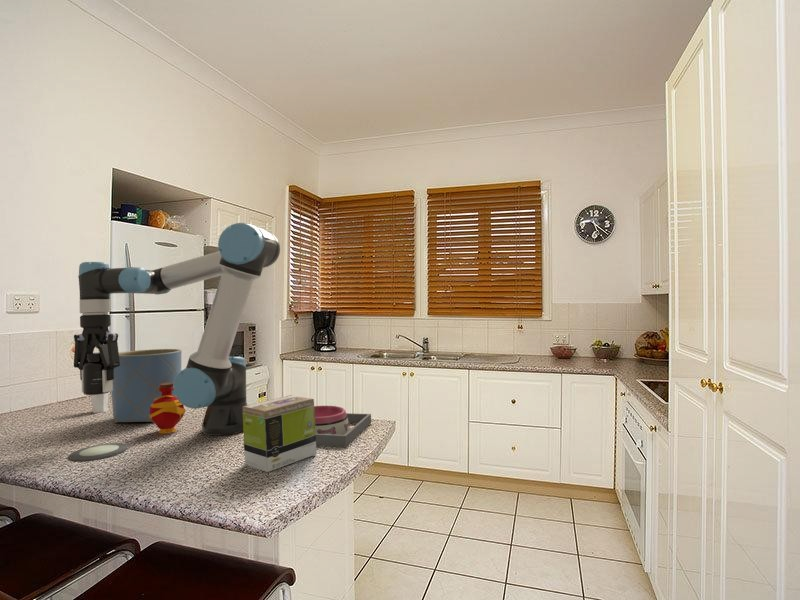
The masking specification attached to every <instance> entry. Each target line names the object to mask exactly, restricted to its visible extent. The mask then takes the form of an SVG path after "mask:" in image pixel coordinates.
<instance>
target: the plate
mask: <svg viewBox="0 0 800 600" xmlns="http://www.w3.org/2000/svg"><path fill="white" fill-rule="evenodd" d="M127 450H128V445H127V444H126V443H122V442H107V443H100V444H95V445H91V446H85V447H83V448H79V449H78V450H77V449H76V450H75V451H73V452H71V453H70V454H69V459H70V460H71V461H74V460H75V462H86V461H87V462H89V461H90V462H91V461H97V460H101V459H102V460H103V459H107V458H110V457H114V456H117V455H120V454H122V453H125V452H126V451H127Z"/></svg>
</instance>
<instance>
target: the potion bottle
mask: <svg viewBox="0 0 800 600" xmlns="http://www.w3.org/2000/svg"><path fill="white" fill-rule="evenodd" d="M173 384H174V383H162V384H159V385H160V387H161V388H159V391H160V392H162V396H161V397H159V398H156V399H154V402H153V404H151V407H150V412H149V413H150V415H149V416H150V419H152V421H153V422H152V423H154V424H155V426H156V427H157V428H158V429H159V430H158V434H163V435H164V434H171V433H174V432H176V431H177V429H176V428H175V426H177V425H178V423H180V422H181V420H182V419H183V417H184V415H185V413H186V408H185V406H184V405H183V404H182V403H180V402H179V400H178V398H177V397H175V396H173V395H172V390H174V389H173Z"/></svg>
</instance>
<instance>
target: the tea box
mask: <svg viewBox="0 0 800 600" xmlns="http://www.w3.org/2000/svg"><path fill="white" fill-rule="evenodd" d="M314 406H315V401H314V398H310V397H303V396H302V397H301V396H295V395H292V394H291V395H285V396H281V397H278V398H274V399H269V400H265V401H260V402H256V403H252V404H247V406H243V432H242V433H243V452H244V454H243V456H244V464H245V465H246V466H249V467H251V468H254V469H256V470H260V471H263V472H265V473H270V472H272V471H275V470H278V469H280V468H283V467H285V466H288V465H290V464H294V463H296V462H299V461H301V460H305V459H306V458H311V457H312V456H316V455H317V453H318V452H317V446H316V431H315V413H314Z"/></svg>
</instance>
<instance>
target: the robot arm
mask: <svg viewBox="0 0 800 600" xmlns="http://www.w3.org/2000/svg"><path fill="white" fill-rule="evenodd" d="M217 248H218V251H215V252H211V253H207V254H204V255H201V256H198V257H193V258H191V259H187V260H184V261H180V262H177V263H173V264H170V265H167V266H164V267H159V268H155V269H145V268H144V267H139V266H138V267H135V266H134V267H133V266H129V267H117V268H116V267H115V268H112V267H111V268H110V264H109V263H108V262H105V261H103V262H102V261H83V262H81V263H80V264H79V266H78V276H77V277H78V287H79V313H80V314H81V315H80V316H79V326H80V328H81V329H82V332H81V333H80V334H79V333H78V334H74V335H73V340H74V353H73V367H74V368H75V369H76V368H77V369H79V377H80V381H81V392H82V393H83V365H84V364H85V363H87V362H88V360H87V354H88V353H94V351H95V348H96V349H97V350H98V352H100V356H101V359H102V362H103V365H104V369H103V370H102V380H103V392H108V393H110V392H111V391H113V379H114V368H115V367H118V366H120V360H119V352H120V351H119V344H118V338H119V334H118V333H112V332H111V331H110V330H109V327H111V325H112V323H111V321H112V320H111V319H112V318H111V315H110V314H109V313H110V312H111V300H110V299H111V294H144V295H157V296H158V295H163V294H168V293H169V292H171V290H173V289H178V288H180V287H184V286H187V285H192V284H197V283H198V282H202V281H206V280H210V279H212V278H213V279H214V278H217V277H220V279H219V282H218V285H217V289H216V291H215V294H214V297H213V301H212V304H211V307H210V311H209V312H208V318H207V320H206V324H205V326H204V329H203V333H202V336H201V339H200V342H199V345H198V348H197V351H195V352H193V353H192V354H190V355H189V358H188V361H187V363H186V366H185V368H184V369H181V372H179V373H178V374H177V376H176V377H175V380H174V384H173V389H174V393H175V395H176V396H177V398H178V400H179V402H180V403H182V404H183V406H184V407H187V408H188V409H189V408H190V409H194V410H195V409H202V408H206V411H205V414H204V418H203V420H202V424H201V432H202V434H204V435H208V436H225V435H234V434H238V433H244V432H243V406H247V405H248V402H247V365H246V359H245V358H244V357H242V356H230V354H231V351H232V347H233V344H234V341H235V338H236V335H237V332H238V329H239V326H240V322H241V320H242V317H243V313H244V310H245V308H246V305H247V302H248V301H247V300H248V297H249V294H250V291H251V289H252V285H253V283H254V281H255V280H256V279H259V278H261V275H262V272H263V269H265V268H268V267H271V266H272V265H273V264H275V263H276V262H277V260H278V259H279V256H280V254H281V245H280V242H279V240H278V238H277V236H275V235H274V233H272V231H271V232H270V231H269V230H266V229H263V228H261V227H259V226H256V225H255V224H251V223H247V222H246V223H245V222H235V223H233V224H231V225H228V226H227V227H226V228H225V229H224V230H222V232H221V234H220V236H219V239H218V243H217ZM109 391H110V392H109Z"/></svg>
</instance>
